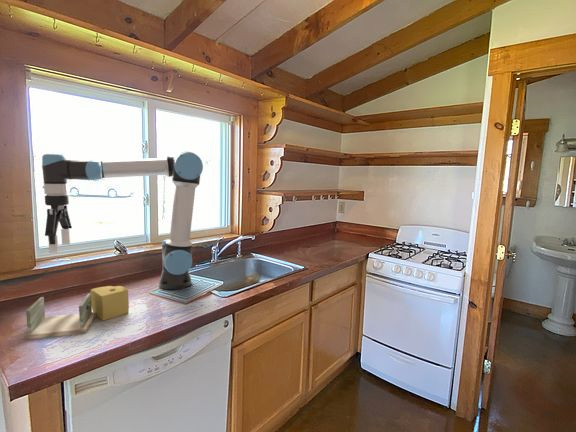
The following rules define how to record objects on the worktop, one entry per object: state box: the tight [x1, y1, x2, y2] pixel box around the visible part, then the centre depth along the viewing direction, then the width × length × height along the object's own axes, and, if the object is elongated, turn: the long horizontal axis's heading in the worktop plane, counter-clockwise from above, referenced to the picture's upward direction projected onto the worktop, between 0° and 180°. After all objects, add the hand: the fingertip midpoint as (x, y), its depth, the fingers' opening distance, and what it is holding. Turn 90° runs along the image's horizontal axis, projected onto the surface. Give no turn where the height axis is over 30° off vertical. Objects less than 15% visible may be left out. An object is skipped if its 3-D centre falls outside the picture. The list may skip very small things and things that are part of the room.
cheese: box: [89, 285, 130, 322], centre depth 128 cm, size 10×11×10 cm
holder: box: [22, 293, 97, 341], centre depth 116 cm, size 18×14×10 cm
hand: (60, 248), depth 130 cm, fingers open, 13 cm apart
